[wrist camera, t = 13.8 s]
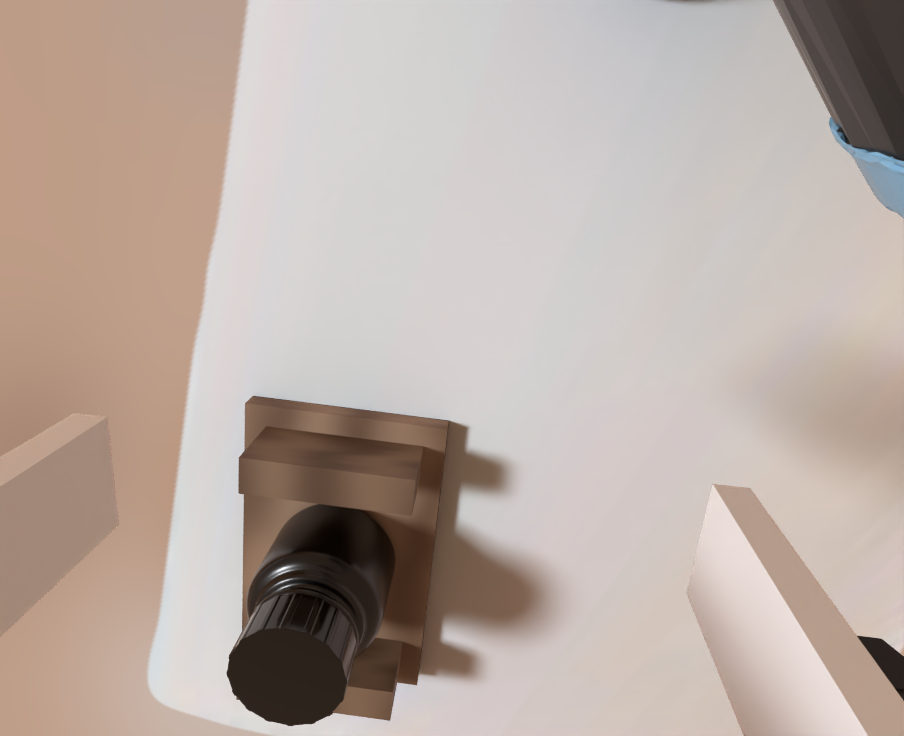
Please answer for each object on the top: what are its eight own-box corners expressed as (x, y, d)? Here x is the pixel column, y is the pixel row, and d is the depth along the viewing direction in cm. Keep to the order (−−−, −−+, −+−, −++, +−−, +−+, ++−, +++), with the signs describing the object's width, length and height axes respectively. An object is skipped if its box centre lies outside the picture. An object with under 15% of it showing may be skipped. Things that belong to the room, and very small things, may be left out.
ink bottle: (249, 552, 47) (172, 675, 36) (319, 473, 45) (261, 577, 33) (351, 627, 48) (309, 768, 37) (425, 554, 46) (403, 680, 35)
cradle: (448, 420, 45) (442, 461, 38) (418, 670, 51) (409, 739, 45) (252, 396, 45) (215, 432, 39) (248, 647, 52) (215, 713, 45)
